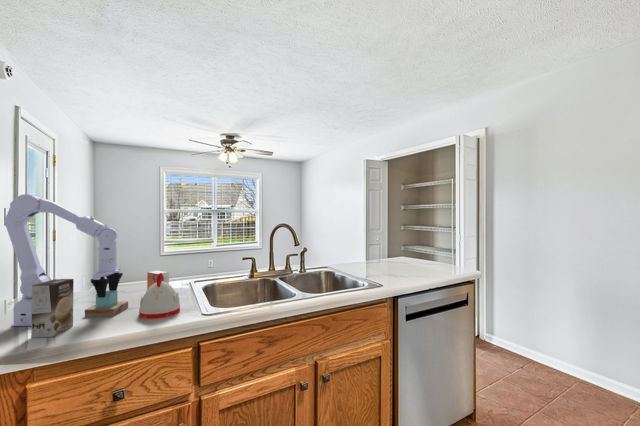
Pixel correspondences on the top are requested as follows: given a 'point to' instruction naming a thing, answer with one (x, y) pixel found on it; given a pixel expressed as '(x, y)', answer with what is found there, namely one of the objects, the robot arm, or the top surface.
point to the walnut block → (106, 310)
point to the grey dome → (159, 300)
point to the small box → (153, 277)
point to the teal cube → (107, 299)
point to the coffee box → (52, 307)
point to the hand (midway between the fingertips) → (107, 294)
